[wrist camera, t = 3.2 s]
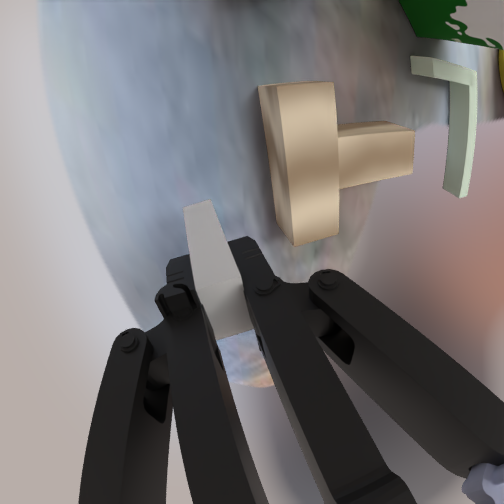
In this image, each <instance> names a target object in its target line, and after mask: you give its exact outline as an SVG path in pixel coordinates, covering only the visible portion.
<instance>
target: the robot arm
mask: <svg viewBox="0 0 504 504" xmlns="http://www.w3.org/2000/svg"><path fill="white" fill-rule="evenodd" d="M183 213H184V221H185V228H186V235H187V241H188V248H189V254H188V255H184V256H181V257H178V258H174V259H171V260H170V261H169V263H168V265H167V267H166V276H167V277H166V278H167V285H165V286H164V287H163V288H161V289H160V290H159V291H158V293H157V294H156V297H155V303H156V304H157V306H158V308H159V310H160V312H161V314H162V315H163V317H164V320H163V321H162V322H161V323H160V324H159V325H157V326H156V327H154V328H152V329H151V330H149V331H147V332H144V331H142V330H141V329H137V328H131V329H127V330H125V331H124V332H122V333H120V335H118V336H117V337H116V339H115V341H114V343H113V345H112V348H111V351H110V355H109V358H108V361H107V365H106V368H105V371H104V375H103V378H102V382H101V386H100V390H99V393H98V397H97V401H96V405H95V409H94V413H93V418H92V423H91V427H90V431H89V436H88V442H87V447H86V452H85V458H84V464H83V470H82V477H81V485H80V494H79V504H166V484H167V467H168V454H169V441H170V431H171V421H172V411H173V409H174V415H175V420H176V427H177V433H178V438H179V444H180V449H181V454H182V459H183V463H184V468H185V472H186V477H187V481H188V485H189V489H190V493H191V497H192V501H193V504H269V503H268V500H267V497H266V495H265V492H264V489H263V487H262V484H261V481H260V479H259V476H258V473H257V470H256V467H255V464H254V461H253V459H252V456H251V453H250V450H249V447H248V444H247V441H246V438H245V434H244V431H243V428H242V425H241V422H240V419H239V416H238V412H237V409H236V406H235V402H234V399H233V396H232V392H231V389H230V385H229V382H228V378H227V375H226V371H225V367H224V364H223V360H222V356H221V353H220V350H219V348H218V345H217V343H216V340H219V339H223V338H226V337H229V336H233V335H236V334H239V333H242V332H246V331H249V330H252V329H254V330H255V333H256V337H257V341H258V345H259V349H260V351H262V354H263V356H264V359H265V361H266V364H267V366H268V369H269V372H270V374H271V377H272V379H273V382H274V384H275V387H276V389H277V391H278V394H279V397H280V399H281V402H282V404H283V406H284V409H285V411H286V413H287V416H288V419H289V421H290V423H291V426H292V428H293V431H294V433H295V435H296V438H297V440H298V443H299V445H300V447H301V450H302V452H303V454H304V456H305V459H306V461H307V464H308V466H309V468H310V470H311V473H312V475H313V477H314V480H315V482H316V484H317V487H318V489H319V491H320V493H321V495H322V498H323V500H324V504H417V503H416V501H415V499H414V497H413V495H412V494H411V492H410V490H409V488H408V487H407V485H406V483H405V482H404V481H403V480H402V479H401V478H400V477H399V476H398V475H396V474H395V473H393V472H391V470H390V469H389V468H388V466H387V465H386V463H385V462H384V460H383V458H382V456H381V454H380V452H379V450H378V448H377V447H376V445H375V443H374V441H373V439H372V438H371V436H370V434H369V432H368V430H367V428H366V426H365V425H364V423H363V421H362V419H361V417H360V416H359V414H358V412H357V410H356V409H355V407H354V405H353V403H352V401H351V400H350V398H349V396H348V394H347V393H346V390H345V389H344V387H343V385H342V383H341V381H340V380H339V378H338V376H337V374H336V372H335V371H334V369H333V367H332V365H331V364H330V362H329V360H328V358H327V357H326V355H325V353H324V351H325V352H326V354H327V355H329V357H331V359H332V360H334V362H336V364H338V366H339V367H340V368H341V369H342V370H343V371H344V372H345V373H346V374H347V375H348V376H349V377H350V378H351V379H353V381H354V382H355V383H356V384H357V385H358V386H360V387H361V388H362V389H363V391H365V393H367V395H369V396H370V397H371V398H372V399H373V400H374V401H375V402H376V403H377V404H378V405H379V406H380V407H381V408H382V409H383V410H384V411H385V412H386V413H387V414H388V415H389V416H390V417H391V418H392V419H393V420H394V421H395V422H396V423H397V424H398V425H399V426H400V427H401V428H402V429H403V430H404V431H405V432H407V433H408V434H409V435H410V436H411V437H412V438H413V439H414V440H415V441H416V442H417V443H418V444H419V445H420V446H421V447H422V448H423V449H424V450H425V451H426V452H427V453H428V454H430V455H431V456H432V457H433V458H434V459H435V460H436V461H437V462H438V463H439V464H441V465H442V466H443V467H444V468H446V469H447V470H448V471H450V472H452V473H454V474H455V475H457V476H460V477H463V478H466V480H465V481H464V483H463V485H462V492H463V493H464V494H466V495H467V497H468V498H469V499H471V500H472V501H473V502H475V504H504V402H503V401H501V400H500V399H499V398H498V397H497V396H496V395H495V394H493V393H492V392H491V391H490V390H489V389H488V388H487V387H486V386H484V385H483V384H482V383H481V382H480V381H479V380H477V379H476V378H475V377H474V376H473V375H472V374H470V373H469V372H468V371H467V370H466V369H465V368H463V367H462V366H461V365H460V364H459V363H457V362H456V361H455V360H454V359H452V358H451V357H450V356H449V355H448V354H446V353H445V352H444V351H443V350H441V349H440V348H439V347H438V346H437V345H435V344H434V343H433V342H432V341H430V340H429V339H428V338H426V337H425V336H424V335H423V334H421V333H420V332H419V331H418V330H416V329H415V328H414V327H413V326H411V325H410V324H409V323H408V322H406V321H405V320H403V319H402V318H401V317H400V316H398V315H397V314H396V313H395V312H393V311H392V310H390V309H389V308H388V307H387V306H385V305H384V304H383V303H382V302H380V301H379V300H378V299H376V298H375V297H373V296H372V295H371V294H369V293H368V292H367V291H365V290H364V289H363V288H361V287H360V286H359V285H357V284H356V283H355V282H353V281H352V280H351V279H349V278H348V277H347V276H345V275H344V274H343V273H341V272H339V271H337V270H331V269H326V270H320V271H318V272H315V273H314V274H313V275H312V276H311V277H310V279H309V281H308V283H287V282H284V281H282V280H281V279H280V278H279V277H277V276H275V275H274V273H273V271H272V269H271V268H270V266H269V264H268V262H267V260H266V259H265V257H264V255H263V254H262V252H261V250H260V249H259V246H258V245H257V243H256V241H255V240H253V239H252V238H250V237H248V236H246V237H242V238H239V239H236V240H232V241H229V242H227V240H226V238H225V235H224V233H223V230H222V228H221V225H220V222H219V220H218V217H217V215H216V212H215V210H214V207H213V205H212V202H211V199H210V200H206V201H203V202H199V203H196V204H192V205H189V206H186V207H183ZM253 327H254V328H253ZM215 338H216V339H215ZM323 350H324V351H323Z"/></svg>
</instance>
